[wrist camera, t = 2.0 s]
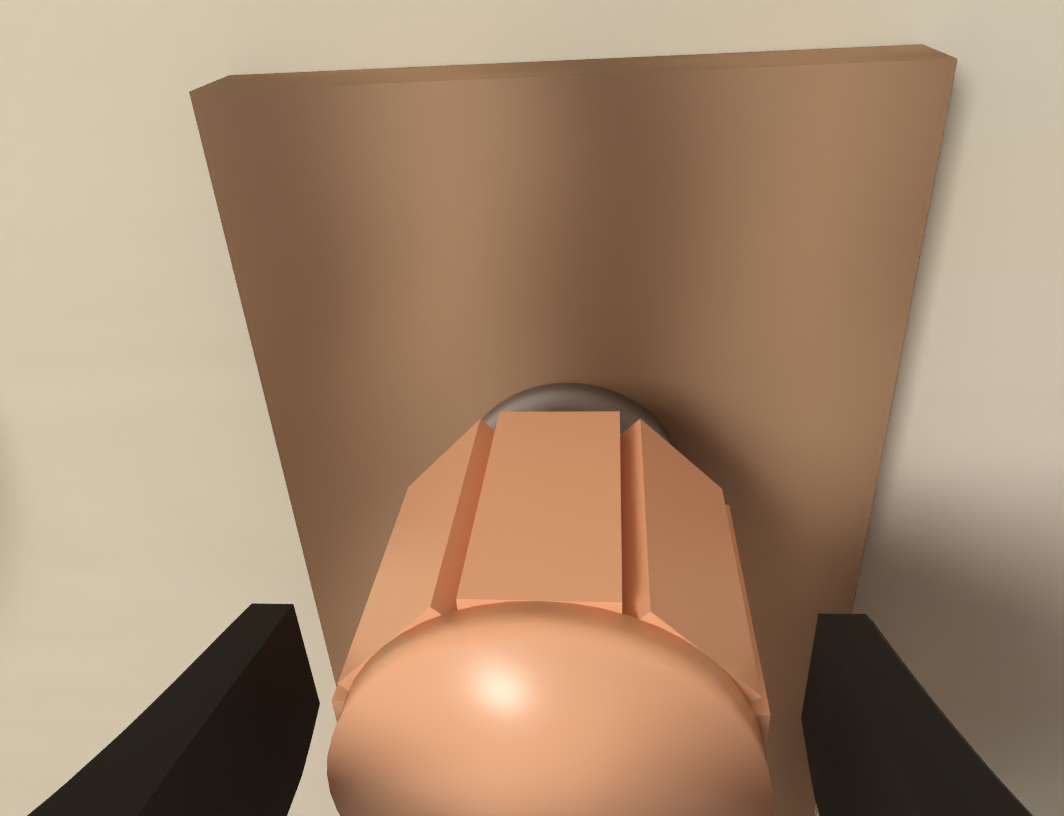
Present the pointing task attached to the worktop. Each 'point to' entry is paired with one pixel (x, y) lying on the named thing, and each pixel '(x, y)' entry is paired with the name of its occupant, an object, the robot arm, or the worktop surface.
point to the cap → (555, 637)
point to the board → (590, 292)
